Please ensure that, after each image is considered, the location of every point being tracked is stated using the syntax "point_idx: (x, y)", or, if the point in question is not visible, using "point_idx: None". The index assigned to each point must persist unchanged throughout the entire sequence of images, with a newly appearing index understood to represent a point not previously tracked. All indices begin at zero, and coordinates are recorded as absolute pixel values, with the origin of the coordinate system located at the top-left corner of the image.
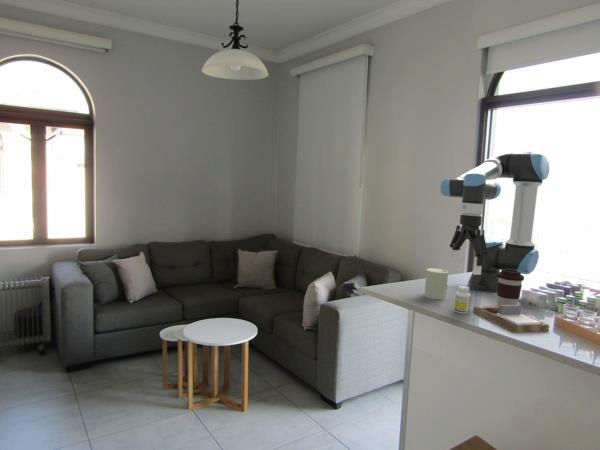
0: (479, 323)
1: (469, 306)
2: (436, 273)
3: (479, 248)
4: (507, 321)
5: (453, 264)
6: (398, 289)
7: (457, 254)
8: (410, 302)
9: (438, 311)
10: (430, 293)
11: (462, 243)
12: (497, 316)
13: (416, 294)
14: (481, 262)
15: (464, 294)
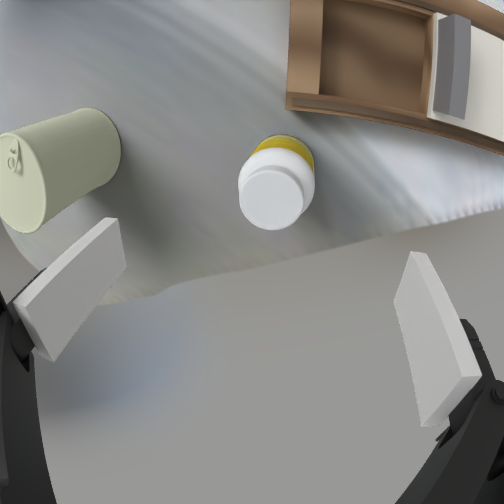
0: (414, 194)
1: (309, 153)
2: (47, 213)
3: (484, 502)
4: (486, 143)
5: (118, 273)
6: (40, 231)
7: (61, 304)
8: (163, 277)
9: (265, 248)
10: (97, 186)
11: (8, 403)
12: (438, 127)
13: (74, 203)
14: (476, 354)
15: (304, 205)
